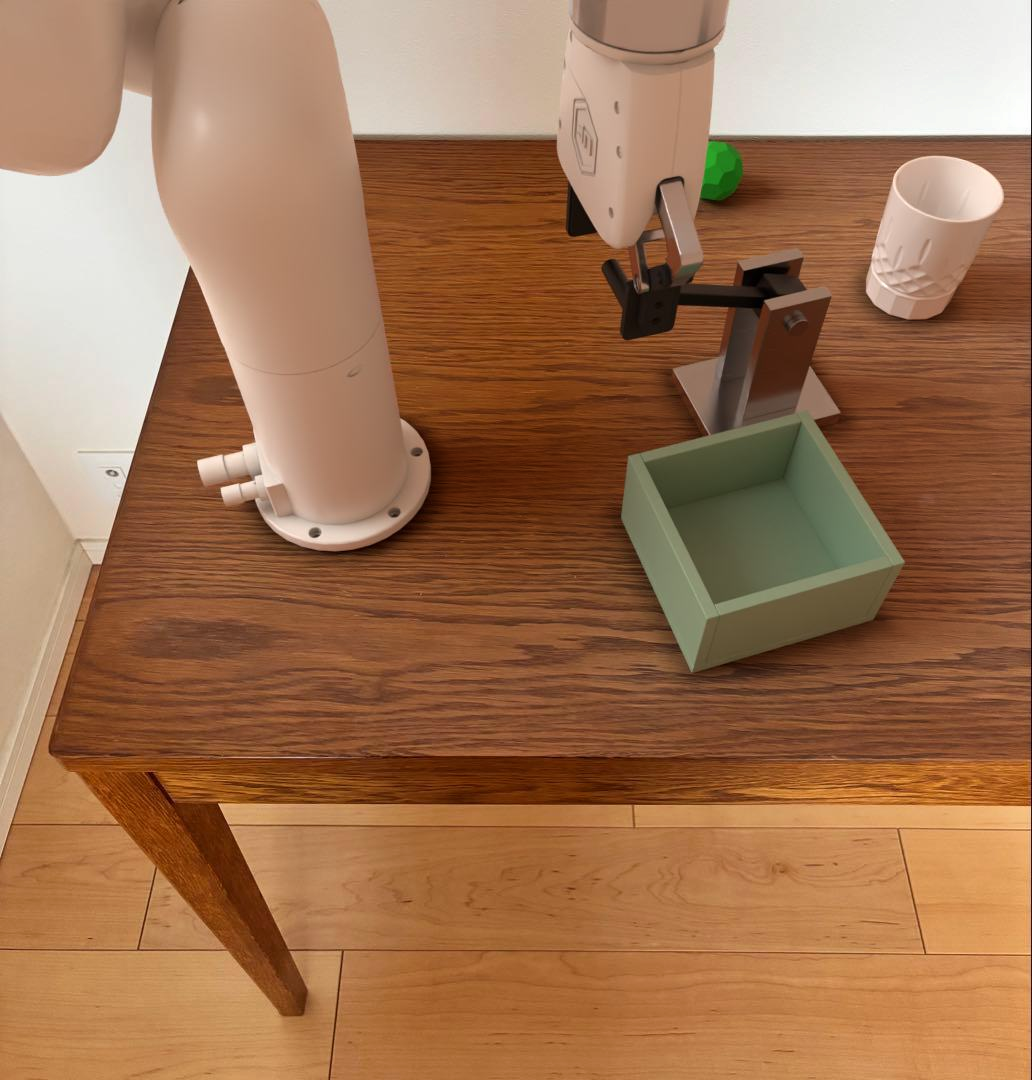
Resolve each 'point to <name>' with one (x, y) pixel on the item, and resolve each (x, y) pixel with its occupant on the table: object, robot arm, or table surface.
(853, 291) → the table surface
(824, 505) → the bin
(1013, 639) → the table surface
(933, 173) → the white cup
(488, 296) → the table surface
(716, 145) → the polyhedron
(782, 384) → the bracket
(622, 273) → the lever
